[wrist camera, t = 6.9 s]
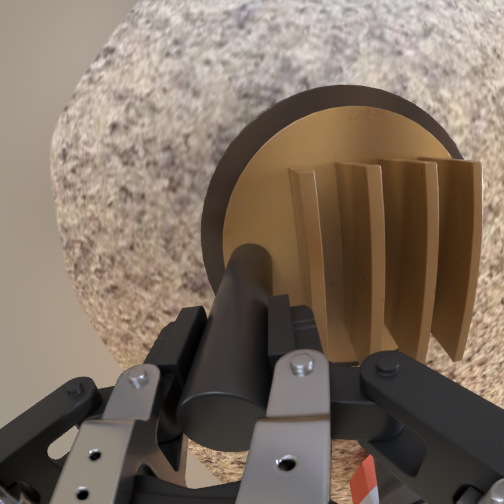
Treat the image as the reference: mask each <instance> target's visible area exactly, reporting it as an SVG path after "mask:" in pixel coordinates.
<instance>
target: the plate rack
mask: <svg viewBox="0 0 504 504" xmlns="http://www.w3.org/2000/svg"><path fill="white" fill-rule="evenodd" d="M482 223H483V176H482V162H480V161H471V160H462V159H453V158H452V157H451V155H450V154H449V153H448V151H447V150H446V149H445V148H444V146H443V145H442V144H441V143H440V142H439V141H438V140H437V139H436V138H435V137H434V136H433V135H432V134H431V133H429V132H428V131H427V130H425V129H424V128H423V127H421V126H420V125H418V124H417V123H415V122H413V121H412V120H410V119H408V118H406V117H404V116H402V115H399V114H396V113H394V112H391V111H388V110H385V109H379V108H374V107H368V106H344V107H335V108H329V109H326V110H322V111H319V112H315V113H312V114H310V115H307V116H305V117H303V118H301V119H299V120H296V121H294V122H293V123H291V124H290V125H288V126H286V127H285V128H283V129H282V130H280V131H279V132H278V133H276V134H275V135H274V136H273V137H272V138H271V139H269V140H268V141H267V142H266V143H265V144H264V145H263V146H262V147H261V148H260V149H259V150H258V151H257V153H256V154H255V155H254V156H253V157H252V158H251V160H250V161H249V163H248V164H247V166H246V167H245V169H244V170H243V172H242V173H241V175H240V177H239V179H238V181H237V183H236V185H235V187H234V190H233V192H232V194H231V197H230V201H229V204H228V207H227V210H226V215H225V221H224V227H223V256H224V265H225V269H226V270H225V273H224V275H223V278H222V281H221V284H220V286H219V289H218V292H217V295H216V297H215V300H214V303H213V306H212V309H211V311H210V314H209V317H208V320H207V323H206V326H205V328H204V331H203V334H202V337H201V340H200V343H199V345H198V348H197V351H196V354H195V357H194V360H193V363H192V366H191V368H190V371H189V374H188V377H187V380H186V383H185V386H184V389H183V392H182V395H181V398H180V401H179V404H178V406H177V410H176V420H177V423H178V426H179V427H180V429H181V431H182V432H183V433H184V434H185V435H186V436H187V437H188V438H189V439H191V440H192V441H194V442H195V443H197V444H199V445H201V446H203V447H206V448H209V449H212V450H216V451H222V452H243V451H248V450H249V448H250V444H251V440H252V436H253V432H254V427H255V424H256V421H257V419H258V418H259V417H265V416H266V411H267V406H268V401H269V396H270V391H271V386H272V381H273V378H272V373H271V368H270V363H269V358H268V297H269V296H276V295H282V294H288V295H289V302H290V307H292V306H299V305H306V306H307V307H309V308H310V309H311V310H313V314H314V318H315V321H316V325H317V329H318V333H319V337H320V341H321V345H322V349H323V353H324V354H325V355H326V357H327V358H328V360H329V361H331V362H353V361H359V364H360V365H361V363H362V361H363V360H364V359H365V358H366V357H368V356H369V355H371V354H373V353H376V352H379V351H385V350H395V349H397V348H399V350H400V351H401V352H402V353H404V354H406V355H408V356H410V357H411V358H413V359H415V360H417V361H418V362H420V363H422V364H425V359H426V354H427V348H428V342H429V336H430V332H431V333H432V334H433V336H434V337H435V338H436V339H437V341H438V342H439V343H440V345H441V346H442V347H443V349H444V350H445V351H446V353H447V354H448V355H449V357H450V358H451V359H452V361H453V362H456V361H460V360H462V357H463V354H464V350H465V346H466V341H467V337H468V333H469V328H470V323H471V318H472V313H473V307H474V301H475V295H476V288H477V281H478V273H479V264H480V254H481V242H482Z"/></svg>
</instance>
